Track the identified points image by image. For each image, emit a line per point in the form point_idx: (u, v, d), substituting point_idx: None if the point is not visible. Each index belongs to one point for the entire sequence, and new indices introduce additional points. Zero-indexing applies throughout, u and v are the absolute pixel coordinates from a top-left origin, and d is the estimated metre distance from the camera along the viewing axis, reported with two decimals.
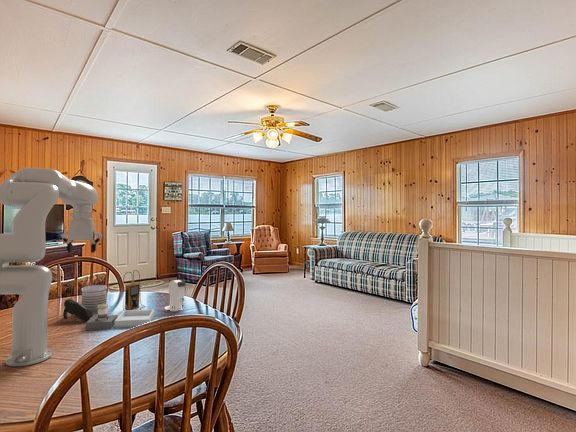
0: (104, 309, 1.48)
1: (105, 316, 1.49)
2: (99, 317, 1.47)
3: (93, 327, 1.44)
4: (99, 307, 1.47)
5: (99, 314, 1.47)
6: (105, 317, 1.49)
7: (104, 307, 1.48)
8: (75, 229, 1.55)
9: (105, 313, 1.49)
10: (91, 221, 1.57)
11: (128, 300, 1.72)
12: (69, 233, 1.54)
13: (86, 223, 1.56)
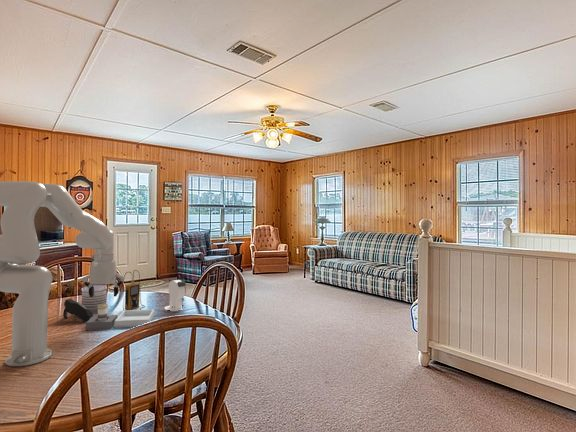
0: (104, 309, 1.48)
1: (105, 316, 1.49)
2: (99, 317, 1.47)
3: (93, 327, 1.44)
4: (99, 307, 1.47)
5: (99, 314, 1.47)
6: (105, 317, 1.49)
7: (104, 307, 1.48)
8: (97, 273, 1.46)
9: (105, 313, 1.49)
10: (113, 263, 1.49)
11: (128, 300, 1.72)
12: (91, 277, 1.46)
13: (108, 266, 1.47)
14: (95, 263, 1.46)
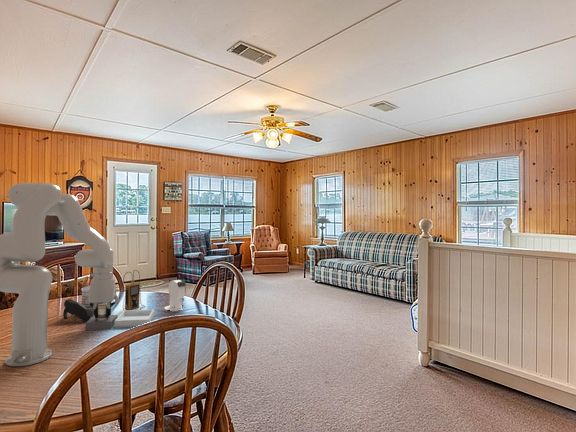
0: (104, 309, 1.48)
1: (105, 316, 1.49)
2: (99, 317, 1.47)
3: (93, 327, 1.44)
4: (99, 307, 1.47)
5: (99, 314, 1.47)
6: (105, 317, 1.49)
7: (104, 307, 1.48)
8: (96, 291, 1.46)
9: None
10: (113, 282, 1.49)
11: (128, 300, 1.72)
12: (90, 296, 1.46)
13: (107, 284, 1.47)
14: (94, 281, 1.46)
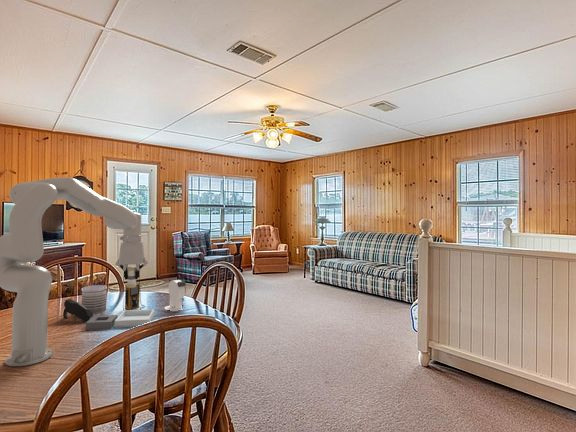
0: (133, 271, 1.54)
1: (134, 278, 1.55)
2: (129, 278, 1.53)
3: (93, 327, 1.44)
4: (129, 269, 1.53)
5: (129, 275, 1.53)
6: (134, 279, 1.55)
7: (133, 269, 1.54)
8: (126, 253, 1.52)
9: None
10: (141, 245, 1.54)
11: (128, 300, 1.72)
12: (120, 257, 1.51)
13: (137, 247, 1.53)
14: (124, 244, 1.52)
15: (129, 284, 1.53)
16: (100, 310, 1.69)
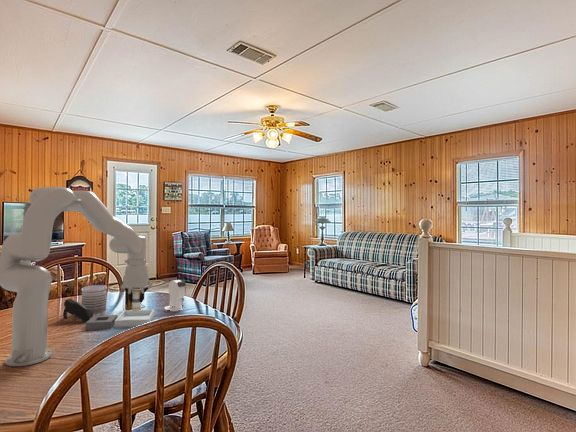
0: (138, 294, 1.55)
1: (139, 300, 1.56)
2: (134, 301, 1.55)
3: (93, 327, 1.44)
4: (134, 292, 1.54)
5: (134, 298, 1.55)
6: (139, 301, 1.56)
7: (138, 292, 1.55)
8: (131, 277, 1.53)
9: None
10: (146, 268, 1.55)
11: (128, 300, 1.72)
12: (125, 281, 1.53)
13: (141, 270, 1.54)
14: (129, 267, 1.53)
15: (134, 307, 1.55)
16: (100, 310, 1.69)
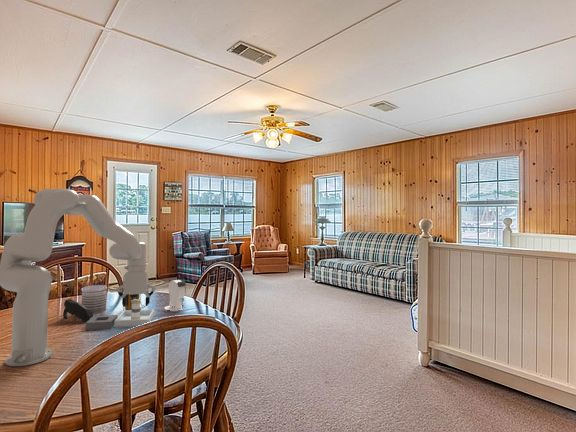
0: (138, 304, 1.55)
1: (138, 310, 1.55)
2: (133, 311, 1.54)
3: (93, 327, 1.44)
4: (133, 302, 1.54)
5: (133, 308, 1.54)
6: (138, 311, 1.56)
7: (138, 302, 1.55)
8: (130, 283, 1.53)
9: (139, 308, 1.56)
10: (146, 274, 1.55)
11: (128, 300, 1.72)
12: (124, 287, 1.53)
13: (141, 276, 1.54)
14: (129, 274, 1.53)
15: (133, 317, 1.54)
16: (100, 310, 1.69)
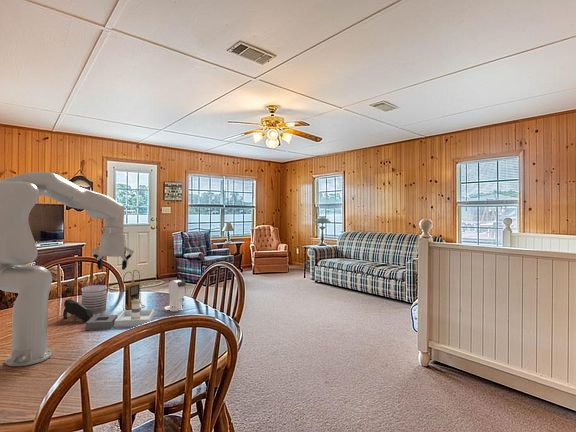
0: (138, 304, 1.55)
1: (138, 310, 1.56)
2: (133, 311, 1.54)
3: (93, 327, 1.44)
4: (133, 302, 1.54)
5: (133, 308, 1.54)
6: (138, 311, 1.56)
7: (138, 302, 1.55)
8: (106, 245, 1.47)
9: (139, 308, 1.56)
10: (123, 236, 1.49)
11: (128, 300, 1.72)
12: (100, 249, 1.47)
13: (118, 238, 1.48)
14: (105, 235, 1.47)
15: (133, 317, 1.54)
16: (100, 310, 1.69)
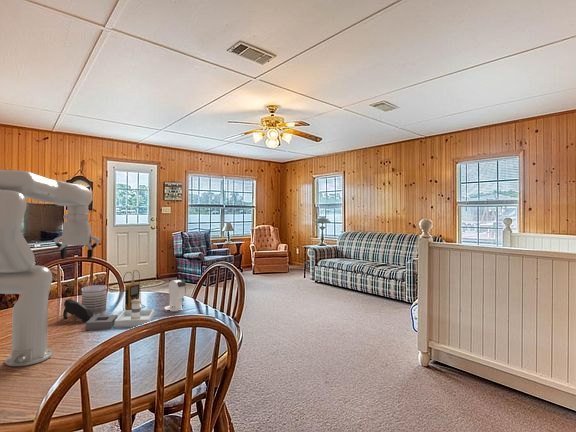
0: (138, 304, 1.55)
1: (138, 310, 1.56)
2: (133, 311, 1.54)
3: (93, 327, 1.44)
4: (133, 302, 1.54)
5: (133, 308, 1.54)
6: (138, 311, 1.56)
7: (138, 302, 1.55)
8: (69, 233, 1.39)
9: (139, 308, 1.56)
10: (87, 224, 1.42)
11: (128, 300, 1.72)
12: (63, 237, 1.39)
13: (82, 226, 1.40)
14: (68, 223, 1.39)
15: (133, 317, 1.54)
16: (100, 310, 1.69)
